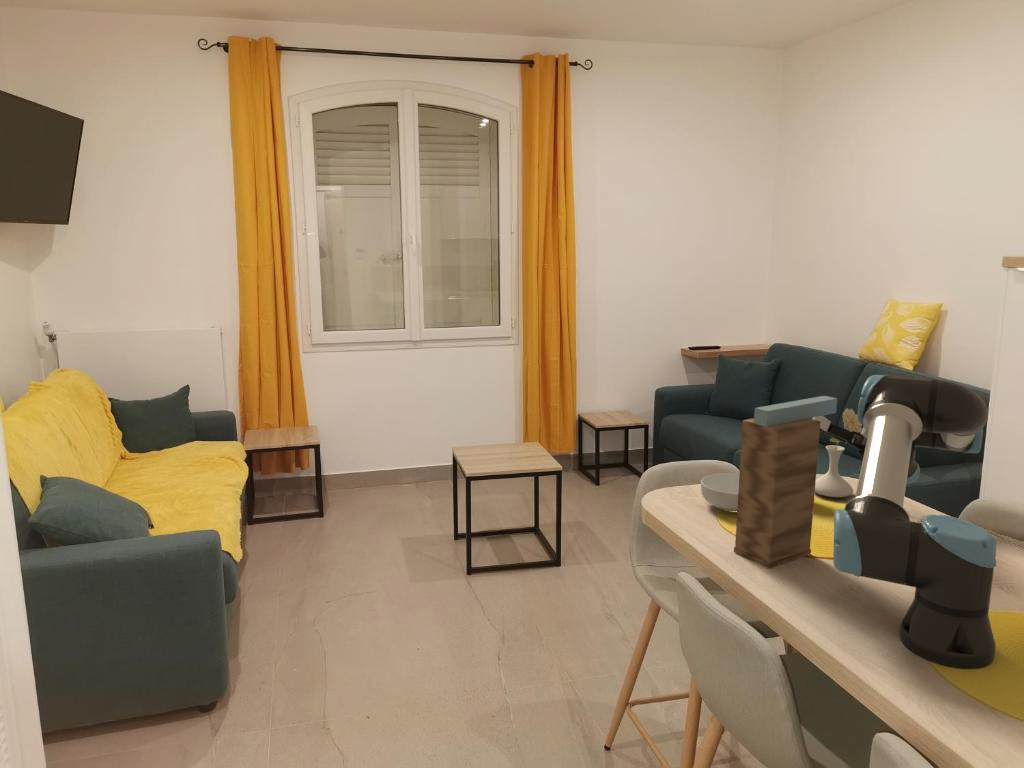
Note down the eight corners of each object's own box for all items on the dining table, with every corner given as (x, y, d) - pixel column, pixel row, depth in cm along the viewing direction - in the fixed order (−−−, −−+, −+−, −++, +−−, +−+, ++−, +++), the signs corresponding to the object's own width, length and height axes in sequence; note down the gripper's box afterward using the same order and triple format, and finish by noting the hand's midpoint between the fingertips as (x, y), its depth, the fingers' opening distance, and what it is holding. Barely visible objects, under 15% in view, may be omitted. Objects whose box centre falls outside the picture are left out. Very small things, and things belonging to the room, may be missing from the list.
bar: (836, 412, 180) (837, 398, 180) (766, 426, 168) (767, 411, 167) (823, 410, 183) (824, 395, 182) (753, 423, 171) (754, 408, 170)
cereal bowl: (697, 515, 203) (699, 489, 202) (701, 494, 219) (702, 470, 218) (764, 521, 199) (766, 496, 197) (763, 500, 214) (765, 476, 213)
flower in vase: (827, 502, 212) (834, 415, 207) (801, 489, 223) (808, 405, 218) (866, 498, 216) (875, 412, 211) (839, 485, 226) (847, 403, 221)
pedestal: (810, 554, 179) (821, 421, 172) (769, 568, 171) (779, 430, 165) (774, 539, 187) (783, 412, 181) (733, 552, 180) (741, 420, 174)
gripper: (921, 479, 185) (880, 449, 174) (831, 454, 206) (789, 425, 195) (933, 451, 186) (893, 419, 174) (842, 429, 207) (801, 398, 195)
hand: (838, 422), depth 184 cm, fingers open, 13 cm apart
